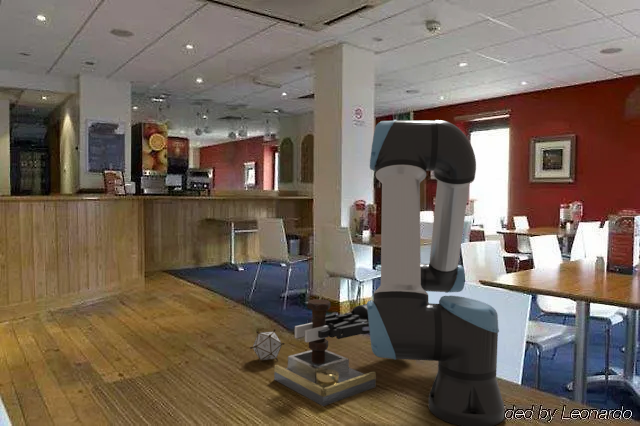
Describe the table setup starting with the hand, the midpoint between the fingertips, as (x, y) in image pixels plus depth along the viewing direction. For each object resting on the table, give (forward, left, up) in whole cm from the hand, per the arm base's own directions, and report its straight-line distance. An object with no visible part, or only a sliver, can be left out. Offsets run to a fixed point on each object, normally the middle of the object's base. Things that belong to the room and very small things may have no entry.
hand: (300, 334), depth 114 cm
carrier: (-4, -4, -12) cm, 13 cm away
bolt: (0, -6, -8) cm, 10 cm away
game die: (+17, -2, -12) cm, 21 cm away
